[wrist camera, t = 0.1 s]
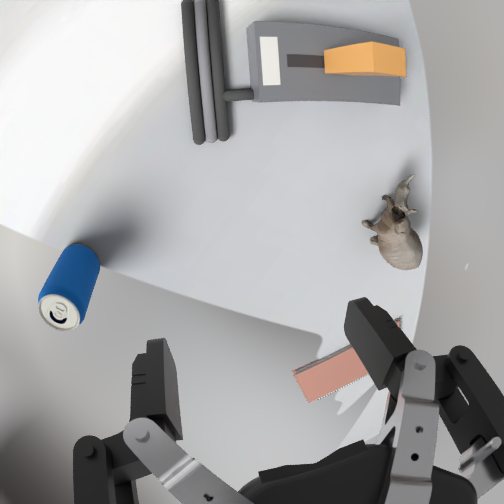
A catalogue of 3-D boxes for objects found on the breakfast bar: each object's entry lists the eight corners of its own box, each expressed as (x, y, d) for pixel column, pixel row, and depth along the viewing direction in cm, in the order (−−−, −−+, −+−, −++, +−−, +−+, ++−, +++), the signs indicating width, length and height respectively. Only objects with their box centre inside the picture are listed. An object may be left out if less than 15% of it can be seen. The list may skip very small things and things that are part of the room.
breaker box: (246, 28, 29) (254, 21, 25) (381, 40, 32) (398, 38, 29) (251, 101, 34) (260, 102, 30) (383, 102, 37) (400, 105, 34)
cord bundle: (181, 1, 25) (181, -3, 24) (261, -3, 27) (264, -6, 26) (193, 144, 35) (194, 146, 34) (270, 135, 37) (274, 137, 36)
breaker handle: (323, 50, 28) (372, 41, 20) (352, 53, 29) (405, 48, 20) (324, 73, 30) (373, 71, 21) (353, 75, 30) (406, 76, 22)
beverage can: (57, 268, 38) (31, 320, 28) (69, 234, 36) (39, 283, 26) (93, 285, 41) (76, 341, 31) (107, 253, 39) (89, 307, 29)
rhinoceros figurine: (373, 283, 51) (419, 283, 36) (340, 214, 52) (377, 191, 37) (404, 263, 52) (453, 257, 37) (373, 197, 52) (415, 172, 37)
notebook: (307, 399, 72) (309, 405, 70) (291, 370, 63) (294, 376, 61) (395, 353, 72) (399, 358, 70) (395, 316, 63) (400, 321, 61)
